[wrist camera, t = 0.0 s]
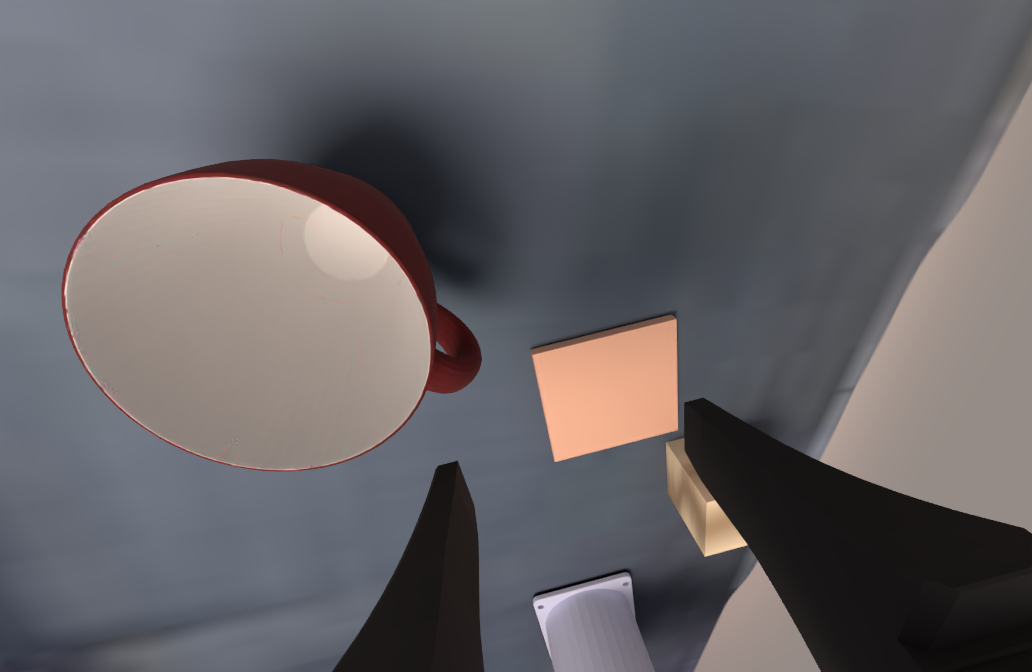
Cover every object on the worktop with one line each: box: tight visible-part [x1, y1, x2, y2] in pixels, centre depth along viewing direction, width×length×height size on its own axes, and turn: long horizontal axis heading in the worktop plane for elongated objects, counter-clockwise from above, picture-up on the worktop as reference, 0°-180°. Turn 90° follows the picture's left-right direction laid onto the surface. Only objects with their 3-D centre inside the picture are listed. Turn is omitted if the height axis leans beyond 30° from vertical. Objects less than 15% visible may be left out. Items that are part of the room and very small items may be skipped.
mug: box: [62, 159, 482, 471], centre depth 15 cm, size 11×8×10 cm
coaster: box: [530, 315, 678, 462], centre depth 25 cm, size 8×8×1 cm
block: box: [666, 438, 747, 557], centre depth 27 cm, size 5×5×5 cm
